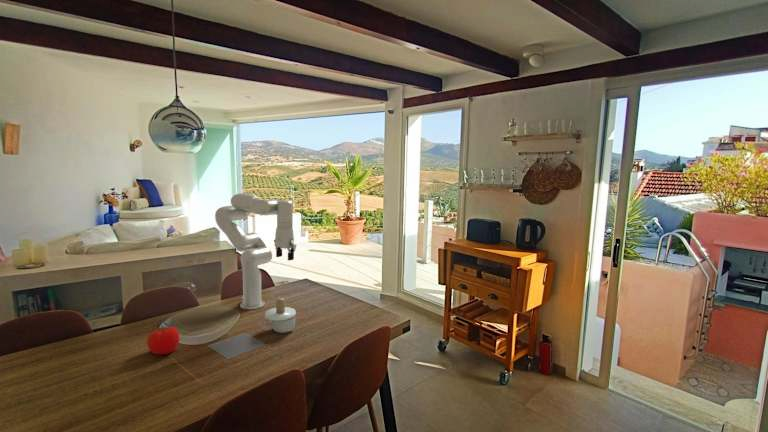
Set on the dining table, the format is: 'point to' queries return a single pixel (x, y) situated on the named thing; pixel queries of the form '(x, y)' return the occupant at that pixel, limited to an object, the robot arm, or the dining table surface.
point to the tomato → (163, 340)
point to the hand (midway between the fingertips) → (284, 258)
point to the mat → (236, 345)
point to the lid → (280, 311)
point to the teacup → (282, 325)
